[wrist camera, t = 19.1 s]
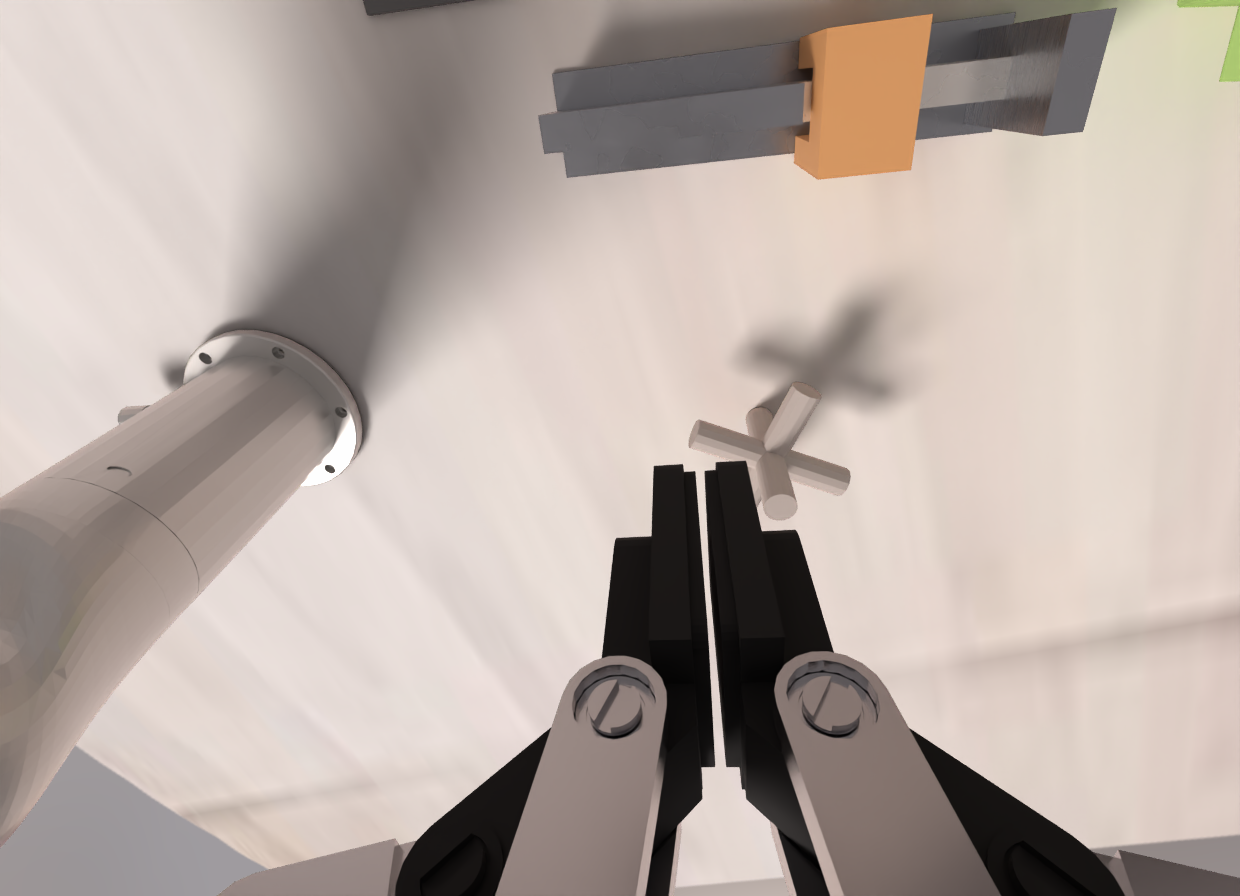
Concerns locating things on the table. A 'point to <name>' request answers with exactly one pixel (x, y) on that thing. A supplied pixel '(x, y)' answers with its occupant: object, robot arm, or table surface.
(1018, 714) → the table surface
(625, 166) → the rail
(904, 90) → the clip
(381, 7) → the pad
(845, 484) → the pipe connector
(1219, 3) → the green square teapot
